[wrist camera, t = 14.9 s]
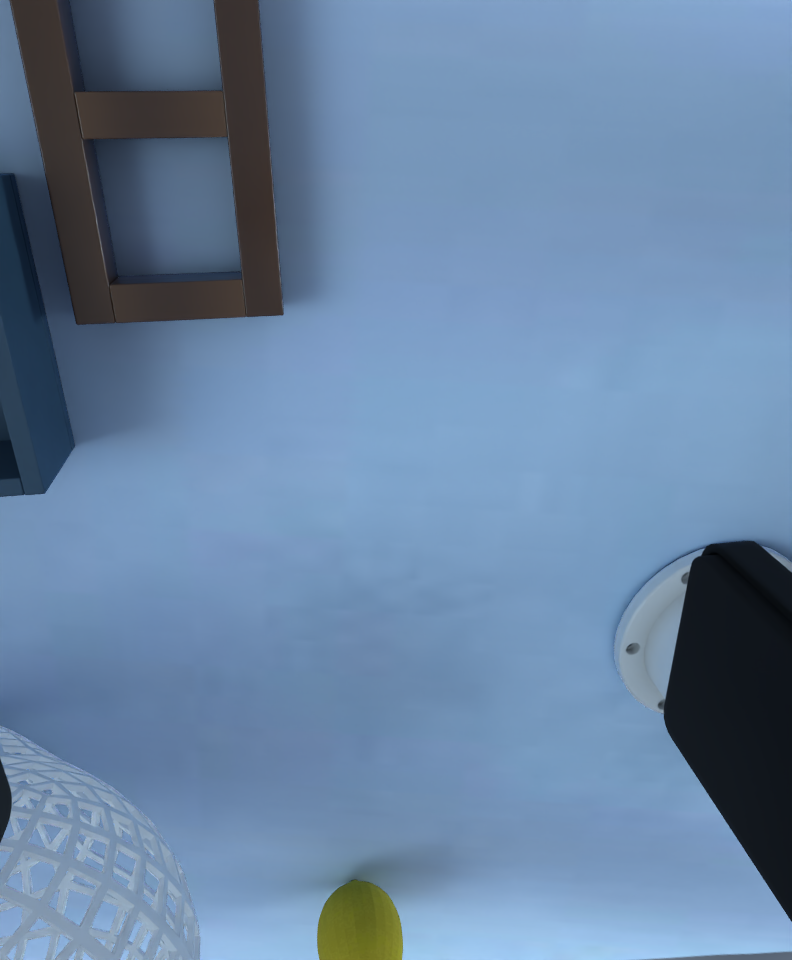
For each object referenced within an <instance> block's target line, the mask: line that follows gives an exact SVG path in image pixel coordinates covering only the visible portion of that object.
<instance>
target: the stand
mask: <svg viewBox="0 0 792 960" xmlns="http://www.w3.org/2000/svg"><path fill="white" fill-rule="evenodd" d="M10 5H11V10H12V15H13V20H14V24H15V29H16V34H17V39H18V44H19V49H20V54H21V58H22V63H23V68H24V73H25V78H26V83H27V88H28V92H29V97H30V102H31V107H32V112H33V117H34V122H35V126H36V131H37V136H38V141H39V146H40V151H41V156H42V160H43V165H44V170H45V175H46V180H47V185H48V190H49V194H50V199H51V204H52V209H53V214H54V219H55V224H56V228H57V233H58V238H59V243H60V248H61V253H62V258H63V262H64V267H65V272H66V277H67V282H68V287H69V292H70V296H71V301H72V306H73V311H74V316H75V321H76V324H77V325H85V324H106V323H115V322H116V323H130V322H152V321H173V320H194V319H215V318H237V317H246V316H247V317H258V316H279V315H283V314H284V311H283V296H282V284H281V271H280V259H279V246H278V234H277V221H276V209H275V197H274V184H273V172H272V159H271V147H270V135H269V122H268V110H267V97H266V85H265V72H264V60H263V48H262V35H261V23H260V10H259V0H214V10H215V19H216V29H217V39H218V48H219V58H220V68H221V77H222V87H223V91H221V90H220V91H88V92H85V88H84V82H83V76H82V71H81V65H80V59H79V54H78V48H77V42H76V37H75V31H74V25H73V20H72V14H71V8H70V2H69V0H10ZM206 137H228V145H229V155H230V165H231V174H232V184H233V194H234V203H235V213H236V223H237V232H238V242H239V252H240V261H241V271H242V272H218V273H192V274H166V275H141V276H119V277H118V275H117V270H116V264H115V258H114V253H113V247H112V241H111V235H110V230H109V224H108V218H107V213H106V207H105V201H104V196H103V190H102V184H101V179H100V173H99V167H98V162H97V156H96V150H95V145H94V139H143V138H206Z"/></svg>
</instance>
